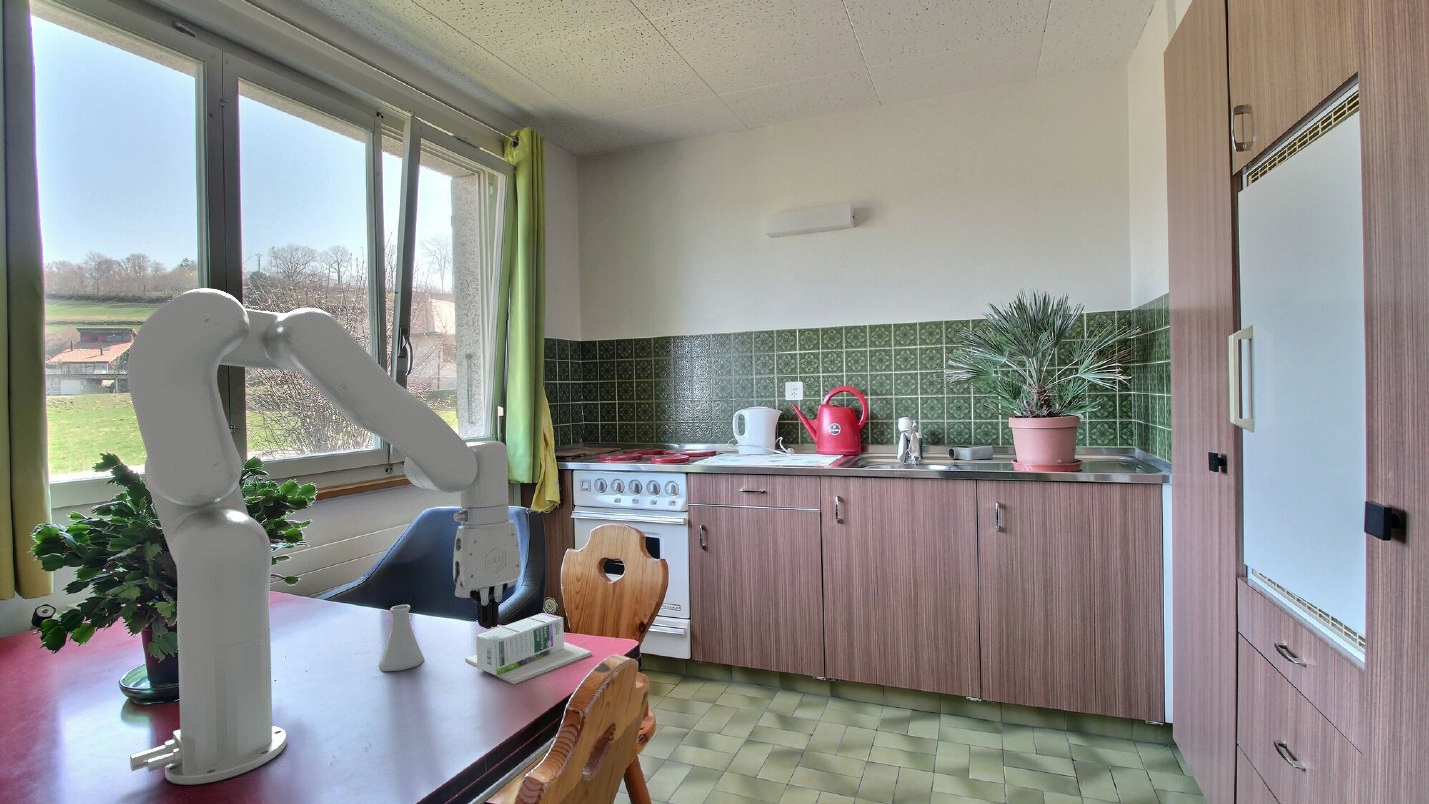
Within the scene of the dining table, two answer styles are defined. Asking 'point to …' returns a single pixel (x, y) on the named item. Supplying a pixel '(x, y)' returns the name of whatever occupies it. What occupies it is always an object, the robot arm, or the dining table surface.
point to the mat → (540, 663)
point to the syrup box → (519, 643)
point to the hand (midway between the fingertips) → (488, 626)
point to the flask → (400, 643)
